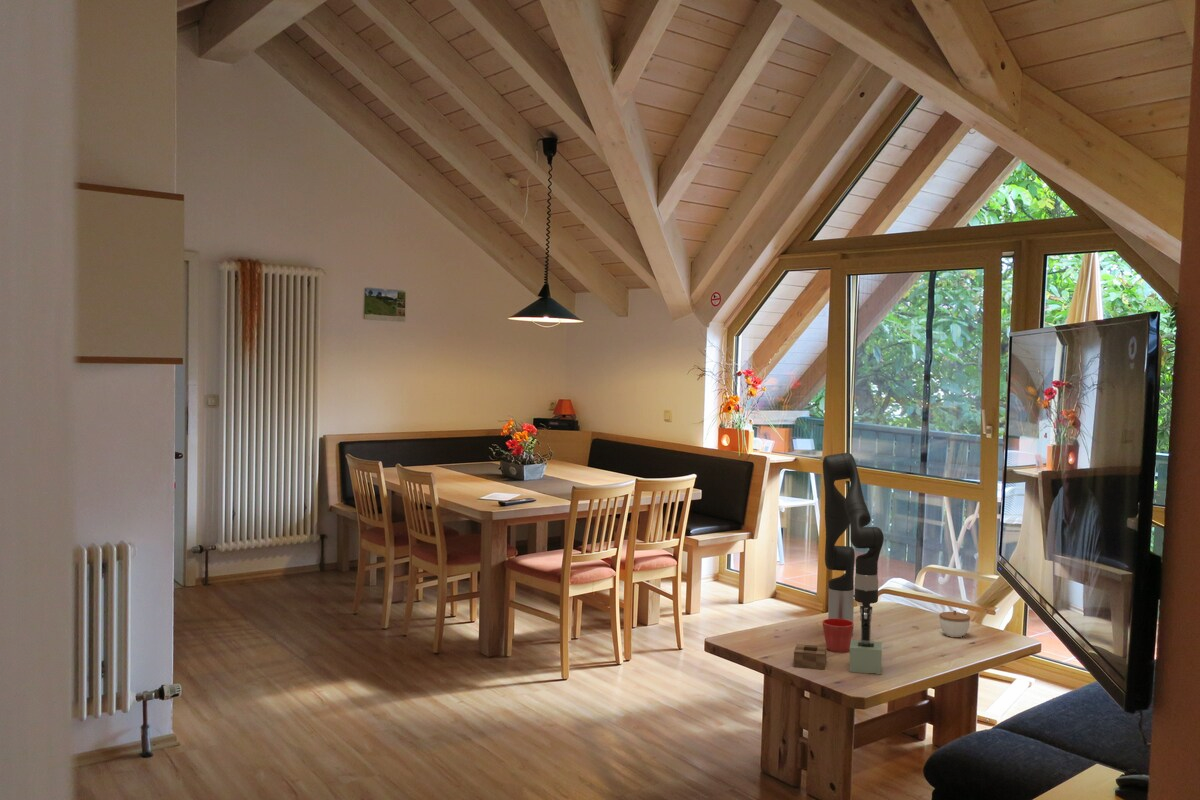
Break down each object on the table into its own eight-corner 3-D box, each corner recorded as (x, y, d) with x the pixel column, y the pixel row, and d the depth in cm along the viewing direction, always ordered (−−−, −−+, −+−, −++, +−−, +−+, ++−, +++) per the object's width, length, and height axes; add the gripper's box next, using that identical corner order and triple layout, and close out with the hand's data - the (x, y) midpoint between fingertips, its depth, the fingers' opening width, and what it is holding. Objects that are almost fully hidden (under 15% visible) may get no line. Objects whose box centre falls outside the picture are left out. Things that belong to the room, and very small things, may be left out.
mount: (796, 658, 325) (796, 643, 325) (826, 660, 323) (826, 646, 322) (793, 666, 316) (793, 651, 316) (824, 669, 313) (824, 654, 313)
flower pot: (830, 654, 331) (830, 626, 330) (817, 645, 341) (817, 618, 341) (858, 652, 333) (859, 625, 332) (844, 644, 343) (845, 617, 343)
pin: (860, 656, 316) (861, 615, 316) (870, 657, 315) (870, 615, 315) (860, 659, 313) (861, 617, 313) (870, 660, 312) (870, 618, 312)
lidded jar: (950, 640, 349) (950, 615, 349) (933, 632, 360) (933, 608, 359) (975, 638, 352) (976, 613, 352) (958, 631, 362) (958, 606, 362)
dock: (850, 663, 320) (850, 639, 320) (881, 665, 317) (881, 642, 317) (849, 671, 311) (849, 647, 310) (881, 674, 308) (881, 650, 308)
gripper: (855, 582, 321) (854, 632, 322) (853, 590, 308) (853, 643, 308) (878, 583, 319) (877, 634, 319) (877, 592, 306) (877, 645, 306)
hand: (865, 638), depth 314 cm, fingers closed on pin, 3 cm apart
